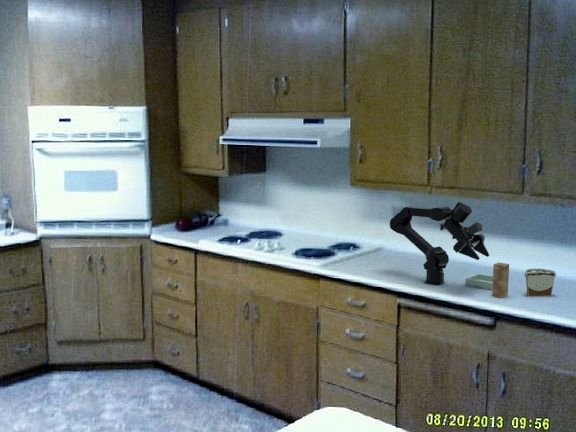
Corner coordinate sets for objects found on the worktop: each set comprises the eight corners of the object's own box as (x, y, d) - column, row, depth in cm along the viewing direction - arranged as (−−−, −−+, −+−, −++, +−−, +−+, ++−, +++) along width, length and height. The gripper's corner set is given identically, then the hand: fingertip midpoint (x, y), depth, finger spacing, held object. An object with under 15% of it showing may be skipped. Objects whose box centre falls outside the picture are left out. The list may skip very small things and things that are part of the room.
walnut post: (492, 296, 256) (493, 264, 255) (496, 294, 260) (498, 262, 258) (503, 298, 254) (504, 265, 252) (507, 295, 257) (509, 264, 255)
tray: (465, 285, 273) (465, 278, 272) (477, 280, 282) (477, 273, 281) (491, 290, 265) (491, 283, 265) (503, 284, 274) (503, 278, 274)
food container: (548, 292, 262) (549, 268, 261) (555, 296, 256) (556, 271, 255) (518, 292, 262) (519, 268, 260) (524, 296, 256) (525, 272, 254)
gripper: (458, 218, 255) (486, 246, 249) (479, 214, 269) (506, 241, 263) (441, 238, 261) (468, 266, 254) (462, 233, 275) (488, 259, 268)
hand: (483, 257), depth 260 cm, fingers open, 9 cm apart
